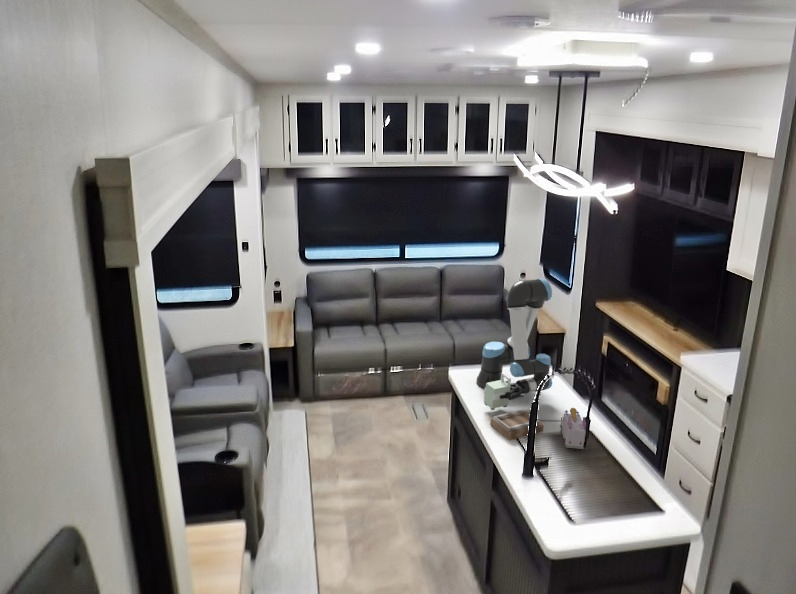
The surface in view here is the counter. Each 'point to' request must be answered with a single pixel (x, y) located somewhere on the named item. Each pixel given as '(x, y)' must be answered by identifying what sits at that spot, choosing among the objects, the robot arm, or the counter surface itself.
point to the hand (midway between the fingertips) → (489, 394)
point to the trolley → (497, 392)
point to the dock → (514, 424)
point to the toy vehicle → (573, 429)
